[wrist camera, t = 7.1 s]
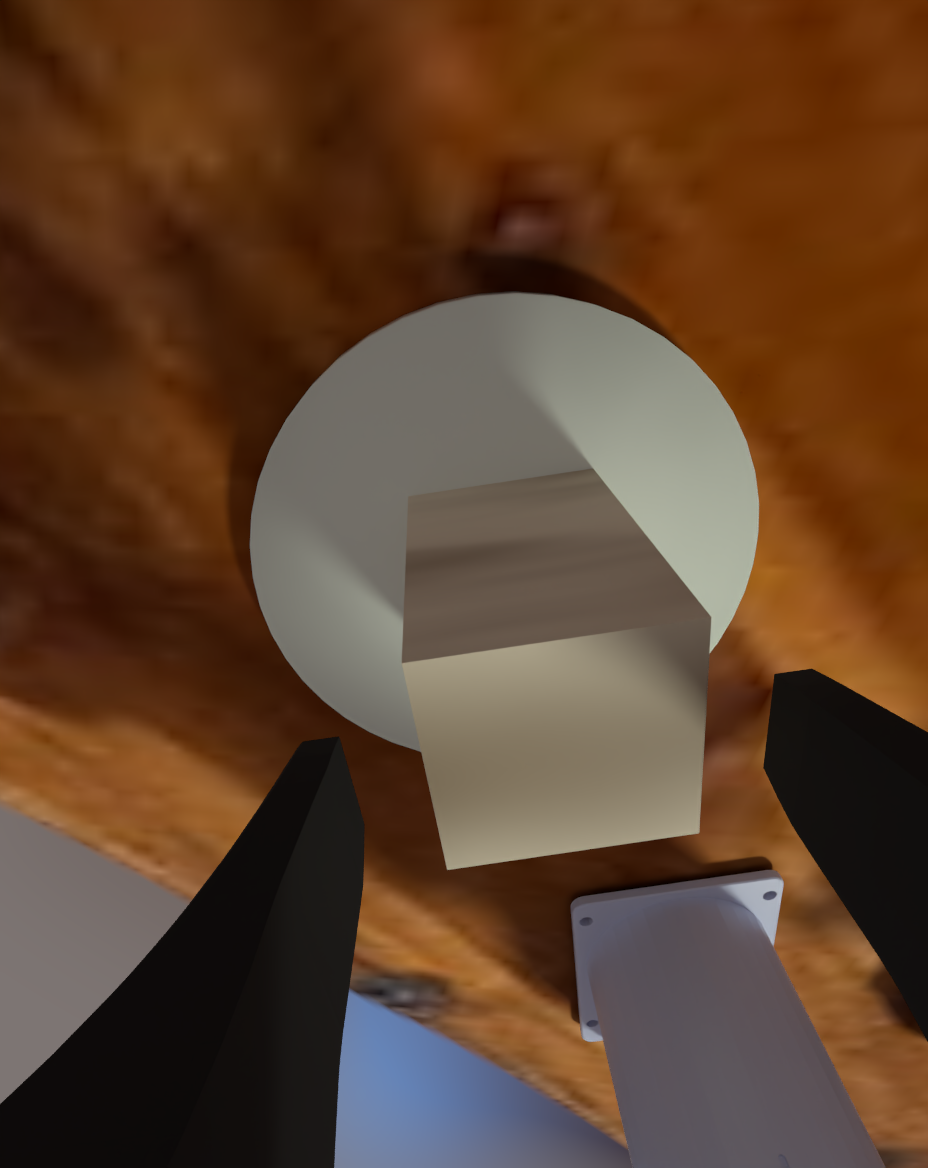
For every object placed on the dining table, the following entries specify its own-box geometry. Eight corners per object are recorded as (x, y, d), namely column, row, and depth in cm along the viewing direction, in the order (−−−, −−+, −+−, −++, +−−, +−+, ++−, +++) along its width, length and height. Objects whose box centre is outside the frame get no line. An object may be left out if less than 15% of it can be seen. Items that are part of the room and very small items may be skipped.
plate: (725, 706, 20) (739, 727, 19) (323, 764, 20) (319, 788, 20) (762, 251, 14) (785, 251, 13) (189, 336, 14) (173, 342, 13)
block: (599, 625, 17) (699, 832, 11) (436, 650, 17) (447, 870, 11) (593, 468, 15) (712, 616, 9) (407, 496, 15) (401, 663, 9)
